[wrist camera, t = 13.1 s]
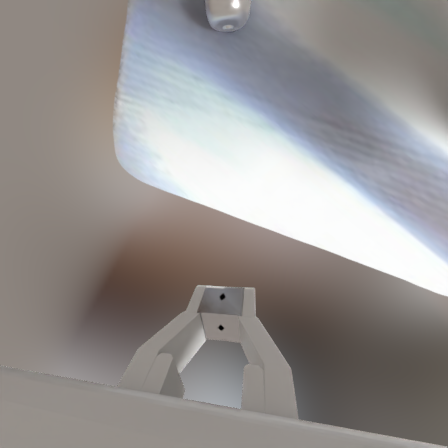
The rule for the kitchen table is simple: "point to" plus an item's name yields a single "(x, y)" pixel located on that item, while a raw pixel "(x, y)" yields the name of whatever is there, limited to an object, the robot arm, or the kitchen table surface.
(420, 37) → the kitchen table surface
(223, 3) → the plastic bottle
